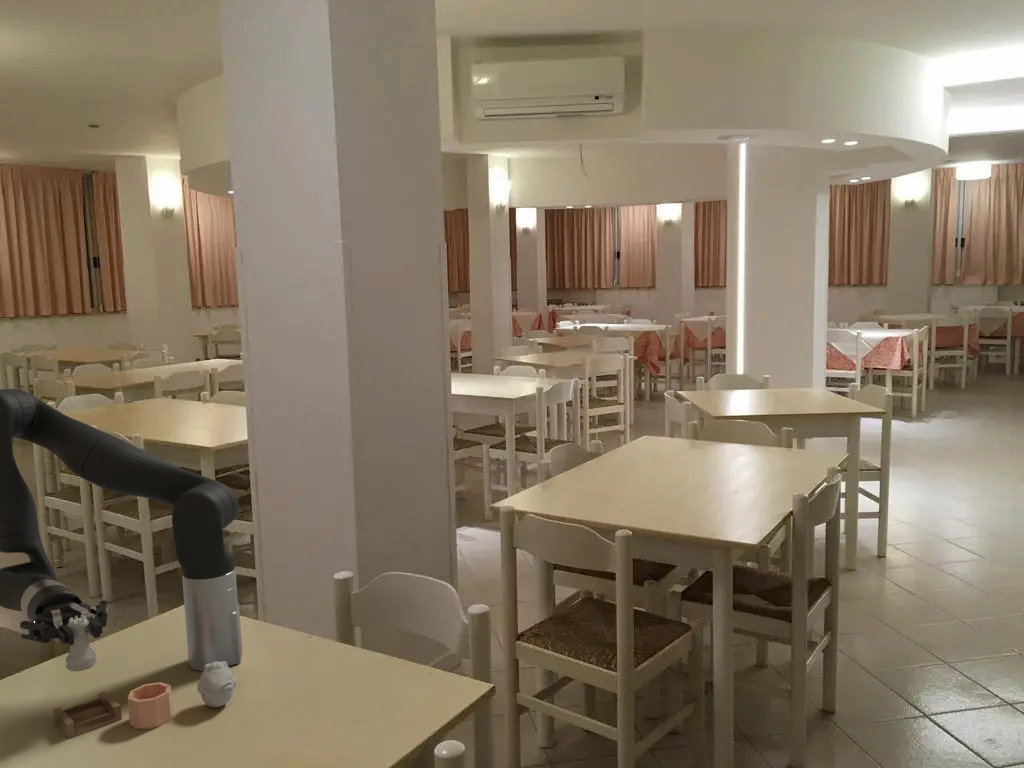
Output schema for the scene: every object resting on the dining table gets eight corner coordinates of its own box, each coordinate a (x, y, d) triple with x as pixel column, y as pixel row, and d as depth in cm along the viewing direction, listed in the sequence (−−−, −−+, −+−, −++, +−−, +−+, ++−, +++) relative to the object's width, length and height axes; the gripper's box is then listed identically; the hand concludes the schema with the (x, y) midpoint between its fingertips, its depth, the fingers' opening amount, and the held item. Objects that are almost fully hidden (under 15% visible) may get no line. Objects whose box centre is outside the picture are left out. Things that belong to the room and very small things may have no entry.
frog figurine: (237, 692, 145) (234, 653, 144) (237, 711, 138) (234, 670, 137) (199, 698, 143) (196, 659, 142) (198, 718, 136) (195, 676, 135)
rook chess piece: (103, 661, 137) (99, 614, 136) (81, 674, 132) (77, 625, 131) (81, 658, 138) (78, 611, 137) (59, 670, 134) (55, 621, 133)
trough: (54, 722, 136) (52, 708, 136) (106, 704, 141) (105, 691, 141) (68, 738, 131) (66, 724, 131) (121, 719, 136) (120, 705, 136)
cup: (174, 708, 140) (172, 680, 139) (169, 726, 134) (166, 697, 133) (135, 713, 138) (132, 685, 138) (127, 732, 132) (125, 703, 132)
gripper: (2, 596, 139) (33, 625, 127) (92, 574, 149) (129, 600, 137) (6, 639, 140) (37, 673, 128) (95, 615, 150) (132, 644, 138)
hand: (84, 635), depth 132 cm, fingers closed on rook chess piece, 3 cm apart
